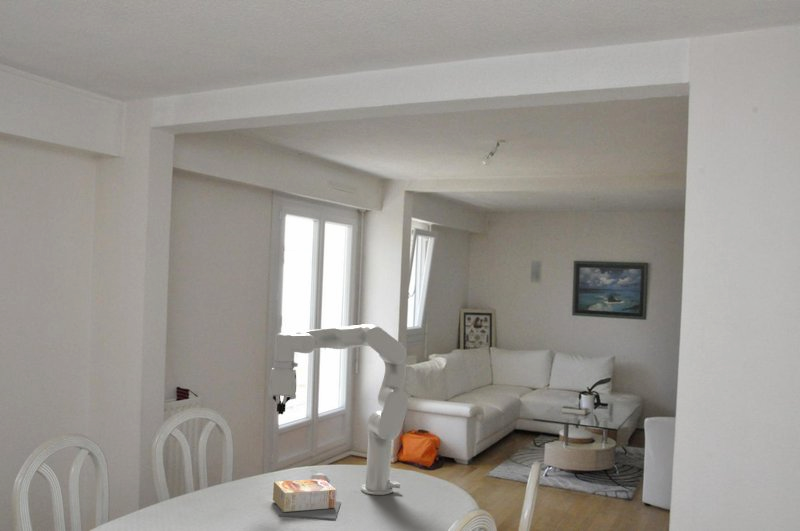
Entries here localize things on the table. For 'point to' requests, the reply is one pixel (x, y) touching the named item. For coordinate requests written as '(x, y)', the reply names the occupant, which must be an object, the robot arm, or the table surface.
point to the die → (320, 477)
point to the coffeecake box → (304, 495)
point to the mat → (314, 513)
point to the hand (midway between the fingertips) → (280, 413)
